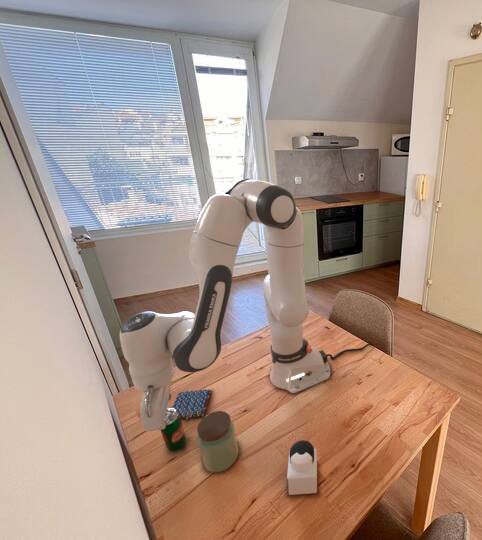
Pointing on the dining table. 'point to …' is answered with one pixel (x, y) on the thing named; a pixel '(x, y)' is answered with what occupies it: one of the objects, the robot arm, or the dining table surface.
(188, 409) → the woven mat
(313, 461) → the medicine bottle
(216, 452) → the jar
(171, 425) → the soda can
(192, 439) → the dining table surface
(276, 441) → the dining table surface
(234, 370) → the dining table surface
